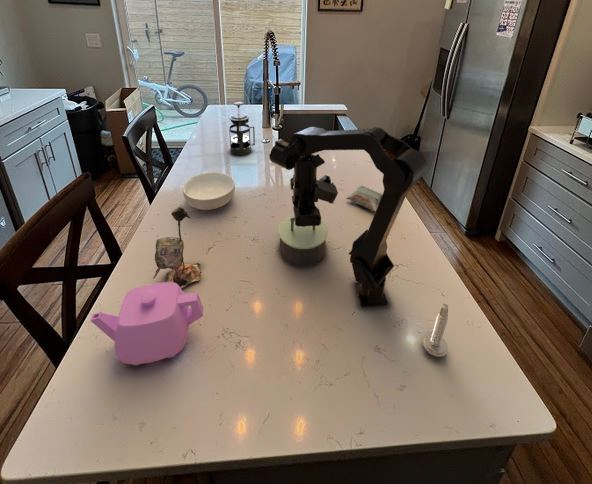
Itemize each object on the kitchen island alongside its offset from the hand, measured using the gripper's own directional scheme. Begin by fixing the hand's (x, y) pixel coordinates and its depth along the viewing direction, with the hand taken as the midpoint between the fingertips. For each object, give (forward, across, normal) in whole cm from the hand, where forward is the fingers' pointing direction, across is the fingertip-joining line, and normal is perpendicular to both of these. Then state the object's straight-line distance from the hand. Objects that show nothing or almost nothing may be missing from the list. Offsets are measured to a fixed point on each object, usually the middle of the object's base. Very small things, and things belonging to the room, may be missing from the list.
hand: (303, 225), depth 90 cm
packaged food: (+9, +20, -24) cm, 32 cm away
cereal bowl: (+9, +24, +29) cm, 39 cm away
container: (+8, 0, 0) cm, 8 cm away
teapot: (+9, -24, +33) cm, 42 cm away
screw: (+9, -30, -24) cm, 39 cm away
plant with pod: (+9, -8, +32) cm, 34 cm away
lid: (+2, 0, 0) cm, 2 cm away
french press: (+9, +62, +21) cm, 66 cm away
